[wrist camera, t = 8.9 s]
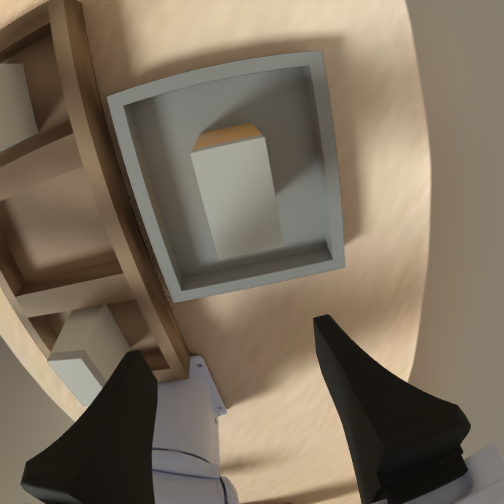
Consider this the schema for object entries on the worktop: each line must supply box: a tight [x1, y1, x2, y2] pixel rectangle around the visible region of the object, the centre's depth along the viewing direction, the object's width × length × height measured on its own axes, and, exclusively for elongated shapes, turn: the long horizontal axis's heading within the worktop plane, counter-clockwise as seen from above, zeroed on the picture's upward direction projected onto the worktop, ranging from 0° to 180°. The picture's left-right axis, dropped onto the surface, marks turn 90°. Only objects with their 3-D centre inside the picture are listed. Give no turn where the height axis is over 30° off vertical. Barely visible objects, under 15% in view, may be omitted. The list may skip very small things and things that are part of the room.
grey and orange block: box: [190, 123, 284, 260], centre depth 16 cm, size 5×3×6 cm, turn 11°
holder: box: [0, 0, 191, 382], centre depth 18 cm, size 28×12×3 cm, turn 11°
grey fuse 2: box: [47, 304, 130, 406], centre depth 21 cm, size 5×3×6 cm, turn 11°
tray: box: [107, 50, 345, 303], centre depth 19 cm, size 14×12×2 cm
